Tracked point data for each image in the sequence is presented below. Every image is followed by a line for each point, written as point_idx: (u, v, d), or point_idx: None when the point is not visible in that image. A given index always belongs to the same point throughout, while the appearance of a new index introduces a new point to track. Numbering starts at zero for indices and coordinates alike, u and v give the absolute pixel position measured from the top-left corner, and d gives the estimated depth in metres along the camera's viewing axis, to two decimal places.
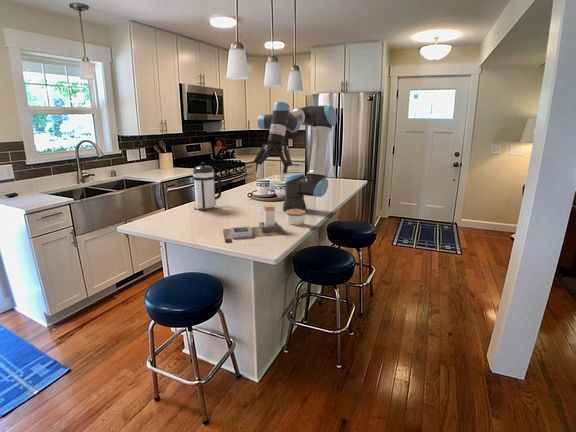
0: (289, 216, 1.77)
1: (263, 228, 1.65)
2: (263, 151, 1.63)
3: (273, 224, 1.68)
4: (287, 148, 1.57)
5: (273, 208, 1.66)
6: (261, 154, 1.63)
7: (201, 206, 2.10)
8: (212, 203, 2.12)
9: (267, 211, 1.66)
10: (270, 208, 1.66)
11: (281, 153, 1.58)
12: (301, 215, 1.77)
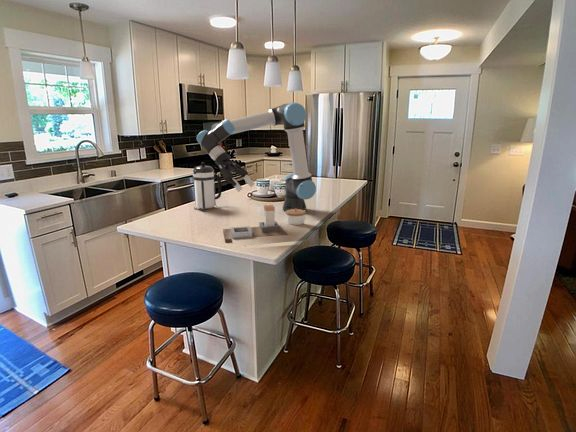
0: (289, 216, 1.77)
1: (263, 228, 1.65)
2: None
3: (273, 224, 1.68)
4: (220, 167, 1.65)
5: (273, 208, 1.66)
6: (238, 169, 1.78)
7: (201, 206, 2.10)
8: (212, 203, 2.12)
9: (267, 211, 1.66)
10: (270, 208, 1.66)
11: (227, 169, 1.68)
12: (301, 215, 1.77)
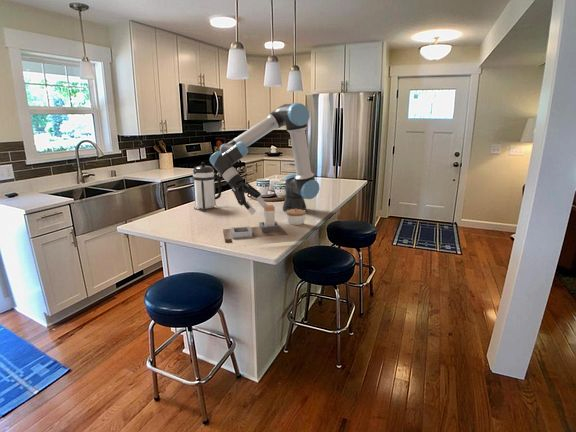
0: (289, 216, 1.77)
1: (263, 228, 1.65)
2: None
3: (273, 224, 1.68)
4: (234, 189, 1.64)
5: (273, 208, 1.66)
6: (251, 190, 1.76)
7: (201, 206, 2.10)
8: (212, 203, 2.12)
9: (267, 211, 1.66)
10: (270, 208, 1.66)
11: (240, 191, 1.66)
12: (301, 215, 1.77)
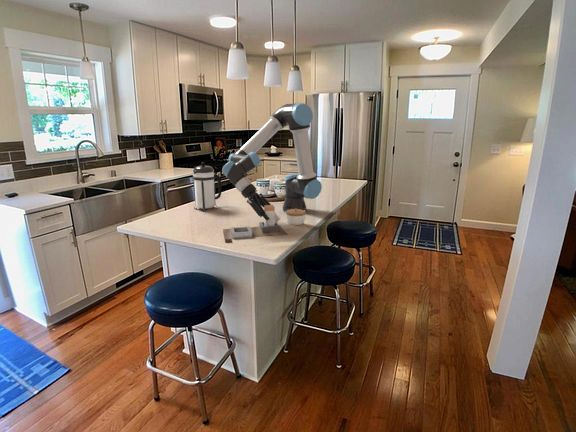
0: (289, 216, 1.77)
1: (263, 228, 1.65)
2: None
3: (273, 224, 1.68)
4: (250, 201, 1.64)
5: (273, 208, 1.66)
6: None
7: (201, 206, 2.10)
8: (212, 203, 2.12)
9: (267, 211, 1.66)
10: (270, 208, 1.66)
11: (256, 202, 1.67)
12: (301, 215, 1.77)
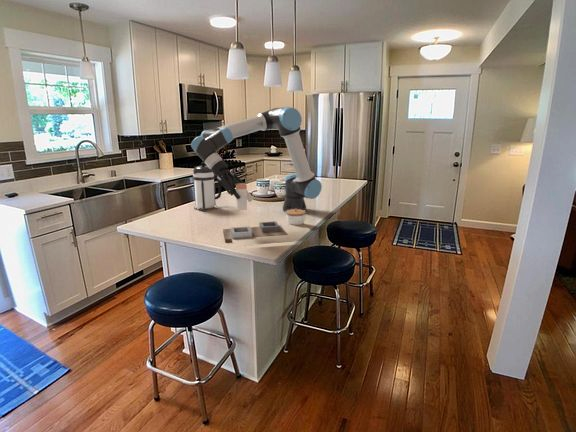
0: (289, 216, 1.77)
1: (263, 228, 1.65)
2: (234, 178, 1.62)
3: (245, 204, 1.56)
4: (219, 178, 1.52)
5: (245, 186, 1.54)
6: None
7: (201, 206, 2.10)
8: (212, 203, 2.12)
9: (238, 189, 1.54)
10: (242, 186, 1.54)
11: (226, 180, 1.55)
12: (301, 215, 1.77)
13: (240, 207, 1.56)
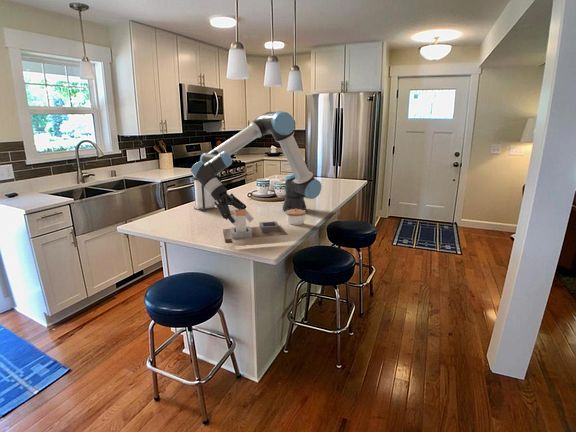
0: (289, 216, 1.77)
1: (263, 228, 1.65)
2: (234, 200, 1.65)
3: (245, 230, 1.59)
4: (217, 202, 1.54)
5: (244, 213, 1.57)
6: (236, 202, 1.66)
7: (201, 206, 2.10)
8: (212, 203, 2.12)
9: (238, 216, 1.57)
10: (241, 213, 1.57)
11: (224, 204, 1.57)
12: (301, 215, 1.77)
13: None
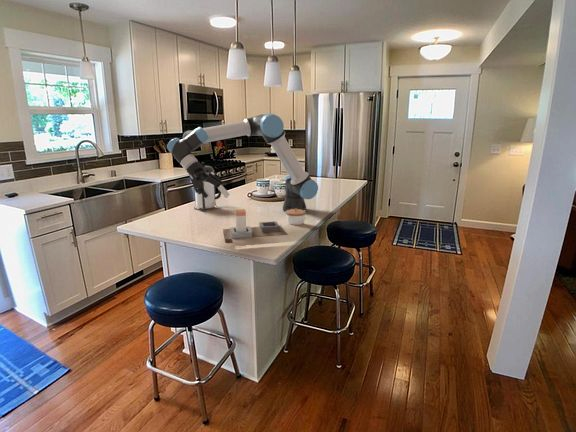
0: (289, 216, 1.77)
1: (263, 228, 1.65)
2: None
3: (245, 230, 1.59)
4: (191, 177, 1.56)
5: (244, 213, 1.57)
6: (213, 179, 1.68)
7: (201, 206, 2.10)
8: (212, 203, 2.12)
9: (238, 216, 1.57)
10: (241, 213, 1.57)
11: (199, 179, 1.58)
12: (301, 215, 1.77)
13: None
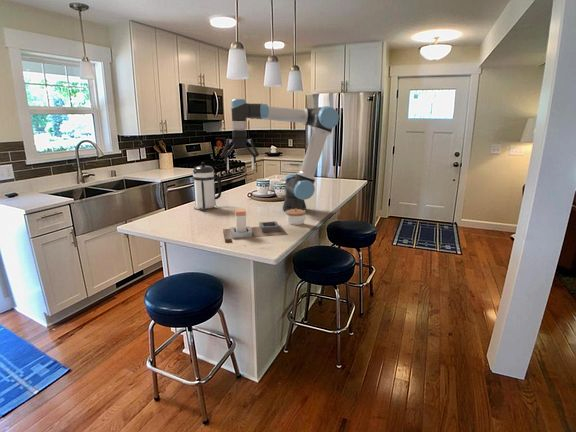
0: (289, 216, 1.77)
1: (263, 228, 1.65)
2: (251, 145, 1.82)
3: (245, 230, 1.59)
4: None
5: (244, 213, 1.57)
6: None
7: (201, 206, 2.10)
8: (212, 203, 2.12)
9: (238, 216, 1.57)
10: (241, 213, 1.57)
11: (232, 146, 1.80)
12: (301, 215, 1.77)
13: None
